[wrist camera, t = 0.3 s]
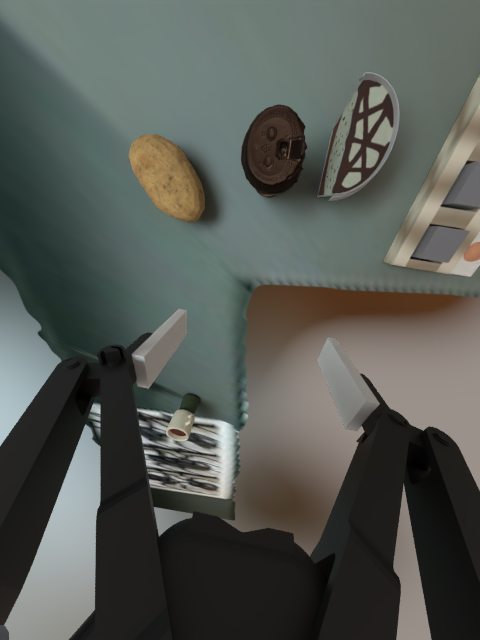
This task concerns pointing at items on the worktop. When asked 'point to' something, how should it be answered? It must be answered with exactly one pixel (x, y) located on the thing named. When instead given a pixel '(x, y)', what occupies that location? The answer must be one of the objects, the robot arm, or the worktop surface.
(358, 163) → the food container
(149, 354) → the robot arm
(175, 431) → the character mug
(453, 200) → the middle button
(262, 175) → the coffee cup
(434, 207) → the button board
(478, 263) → the pattern card
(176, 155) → the potato
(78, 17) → the worktop surface
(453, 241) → the button
